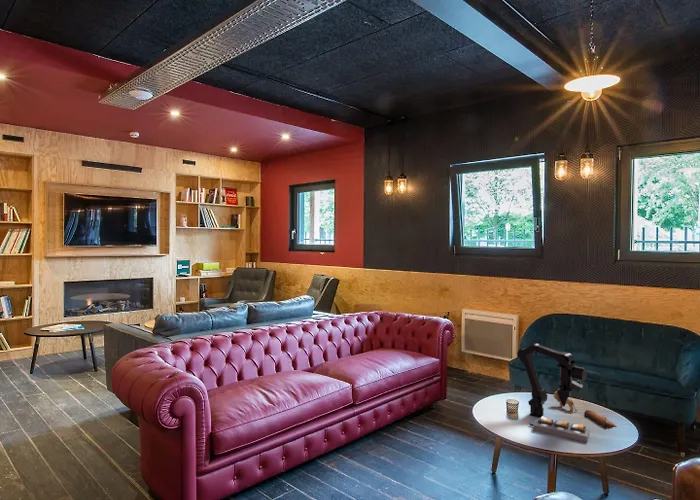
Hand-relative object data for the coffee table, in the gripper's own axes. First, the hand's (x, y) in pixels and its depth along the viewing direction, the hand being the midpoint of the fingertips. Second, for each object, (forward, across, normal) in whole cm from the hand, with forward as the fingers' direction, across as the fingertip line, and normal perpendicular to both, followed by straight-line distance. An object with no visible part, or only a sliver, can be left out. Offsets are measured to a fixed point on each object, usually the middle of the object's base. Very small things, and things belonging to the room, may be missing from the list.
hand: (564, 403), depth 251 cm
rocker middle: (+8, -11, 0) cm, 13 cm away
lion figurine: (+12, +25, +3) cm, 28 cm away
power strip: (+12, -13, +2) cm, 17 cm away
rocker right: (+8, -11, -8) cm, 15 cm away
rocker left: (+8, -10, +8) cm, 15 cm away
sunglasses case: (+12, +15, -17) cm, 26 cm away
